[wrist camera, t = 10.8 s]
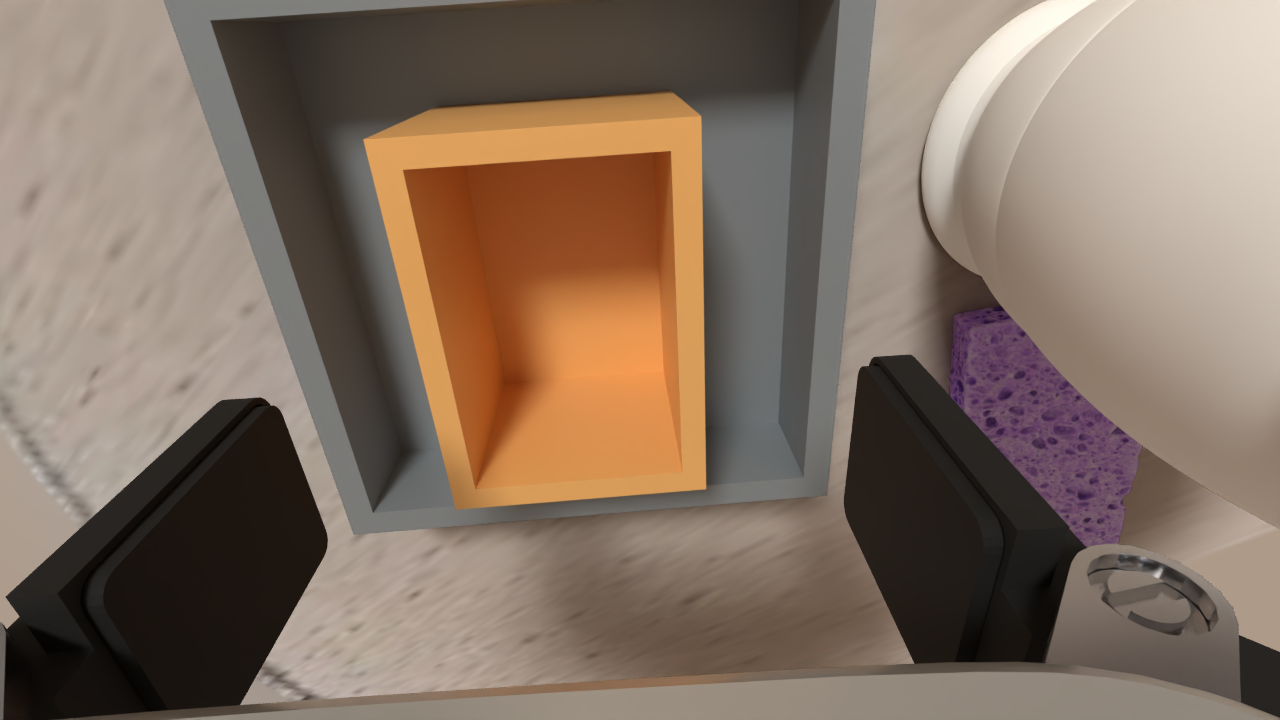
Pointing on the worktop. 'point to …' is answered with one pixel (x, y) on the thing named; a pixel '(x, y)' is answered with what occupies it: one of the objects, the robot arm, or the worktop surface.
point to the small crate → (554, 291)
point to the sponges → (1042, 424)
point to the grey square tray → (529, 70)
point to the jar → (1132, 217)
